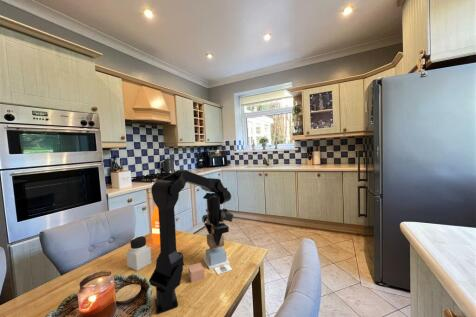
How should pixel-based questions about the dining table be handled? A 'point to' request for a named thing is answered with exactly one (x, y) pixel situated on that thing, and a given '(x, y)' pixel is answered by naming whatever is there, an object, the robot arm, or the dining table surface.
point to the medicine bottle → (138, 253)
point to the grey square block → (216, 258)
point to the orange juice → (155, 226)
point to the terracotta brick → (196, 272)
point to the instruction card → (223, 269)
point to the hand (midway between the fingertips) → (215, 242)
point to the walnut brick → (212, 243)
